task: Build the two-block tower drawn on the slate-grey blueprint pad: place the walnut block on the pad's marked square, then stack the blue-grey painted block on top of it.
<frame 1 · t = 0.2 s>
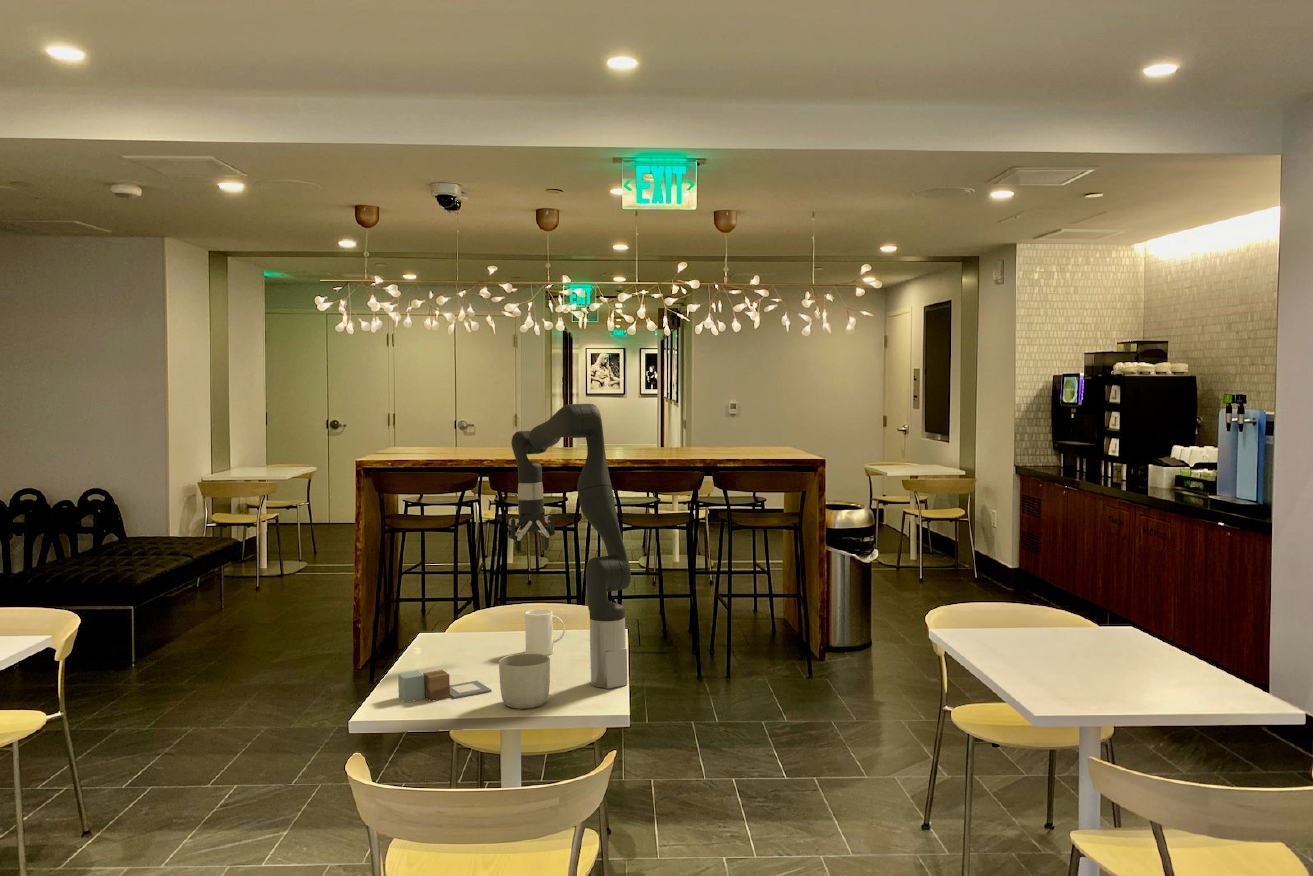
hand: (532, 551, 284), 29 cm above the table, fingers open, 8 cm apart
walnut block: (436, 697, 238), on the table
blue grey block: (411, 698, 238), on the table
mug: (545, 653, 279), on the table
blueprint pad: (465, 690, 243), on the table
planter: (525, 704, 231), on the table
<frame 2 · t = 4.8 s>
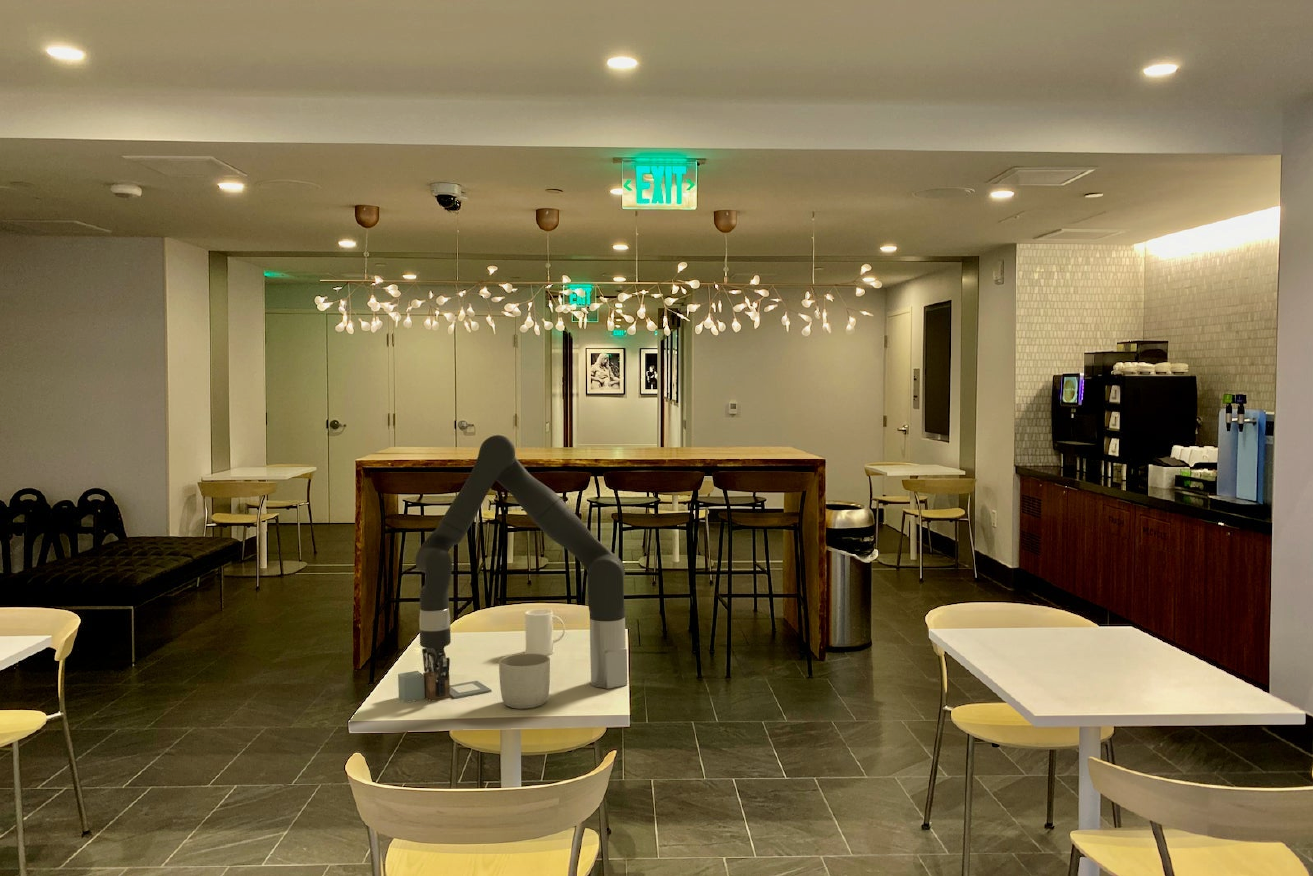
hand: (436, 693, 238), 1 cm above the table, fingers closed on walnut block, 5 cm apart
walnut block: (436, 697, 238), on the table, touching gripper
everything else where it was.
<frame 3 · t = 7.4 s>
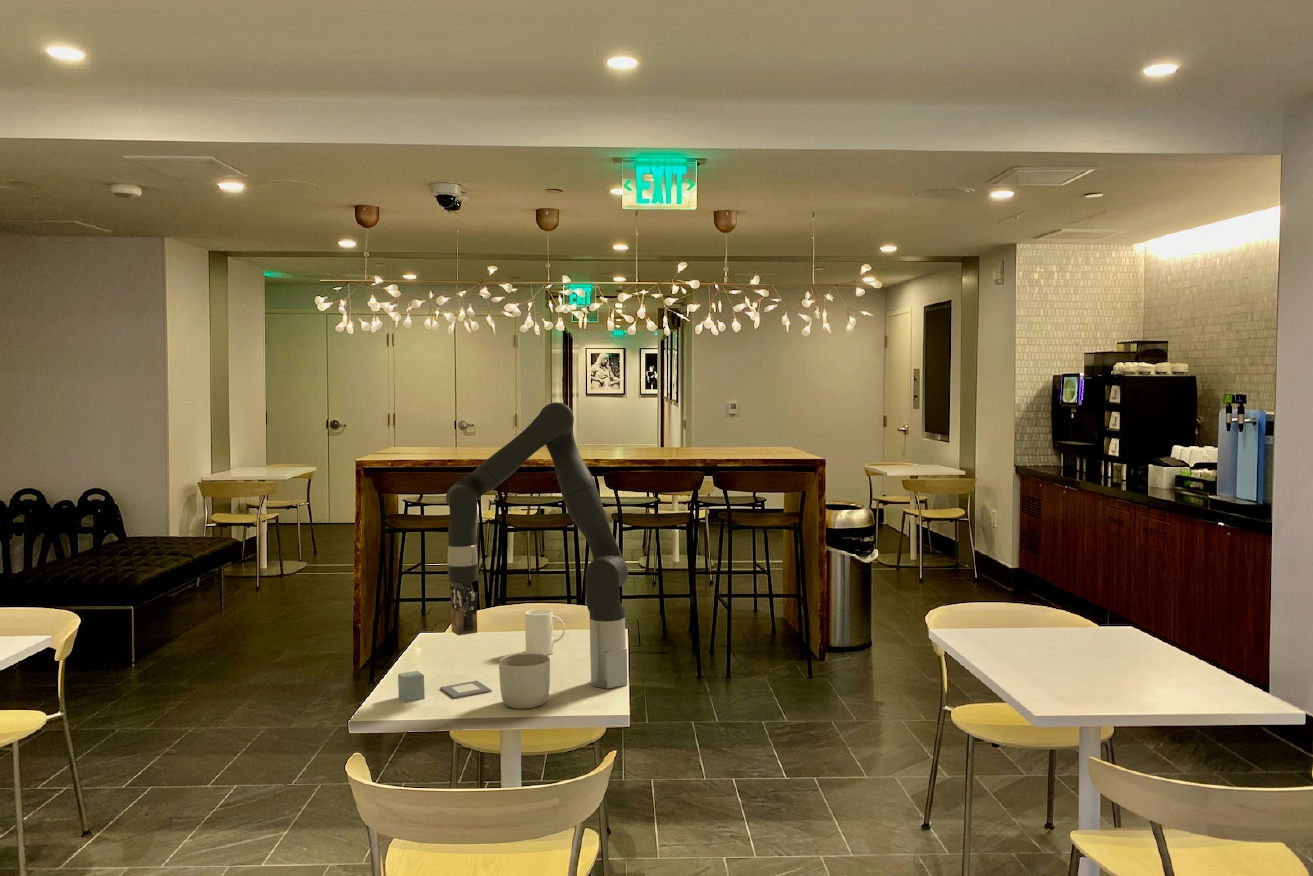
hand: (464, 628, 243), 16 cm above the table, fingers closed on walnut block, 5 cm apart
walnut block: (464, 632, 243), point 15 cm above the table, touching gripper
everything else where it was.
when the fingers open (3 cm above the table, at t = 10.1 s): walnut block stays where it is, resting on blueprint pad.
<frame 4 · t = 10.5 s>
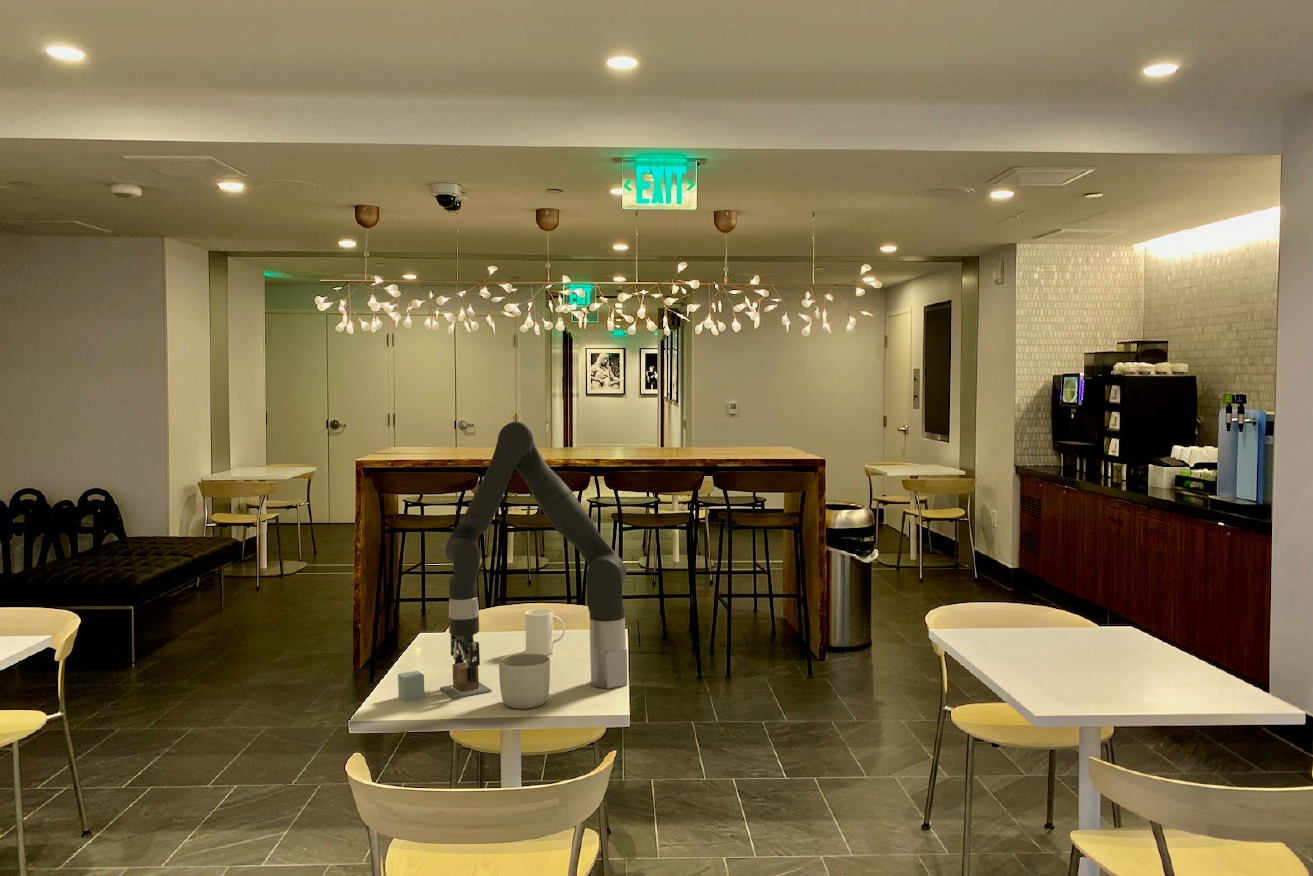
hand: (465, 677, 243), 3 cm above the table, fingers open, 8 cm apart
walnut block: (465, 688, 243), point 1 cm above the table, touching blueprint pad
everything else where it was.
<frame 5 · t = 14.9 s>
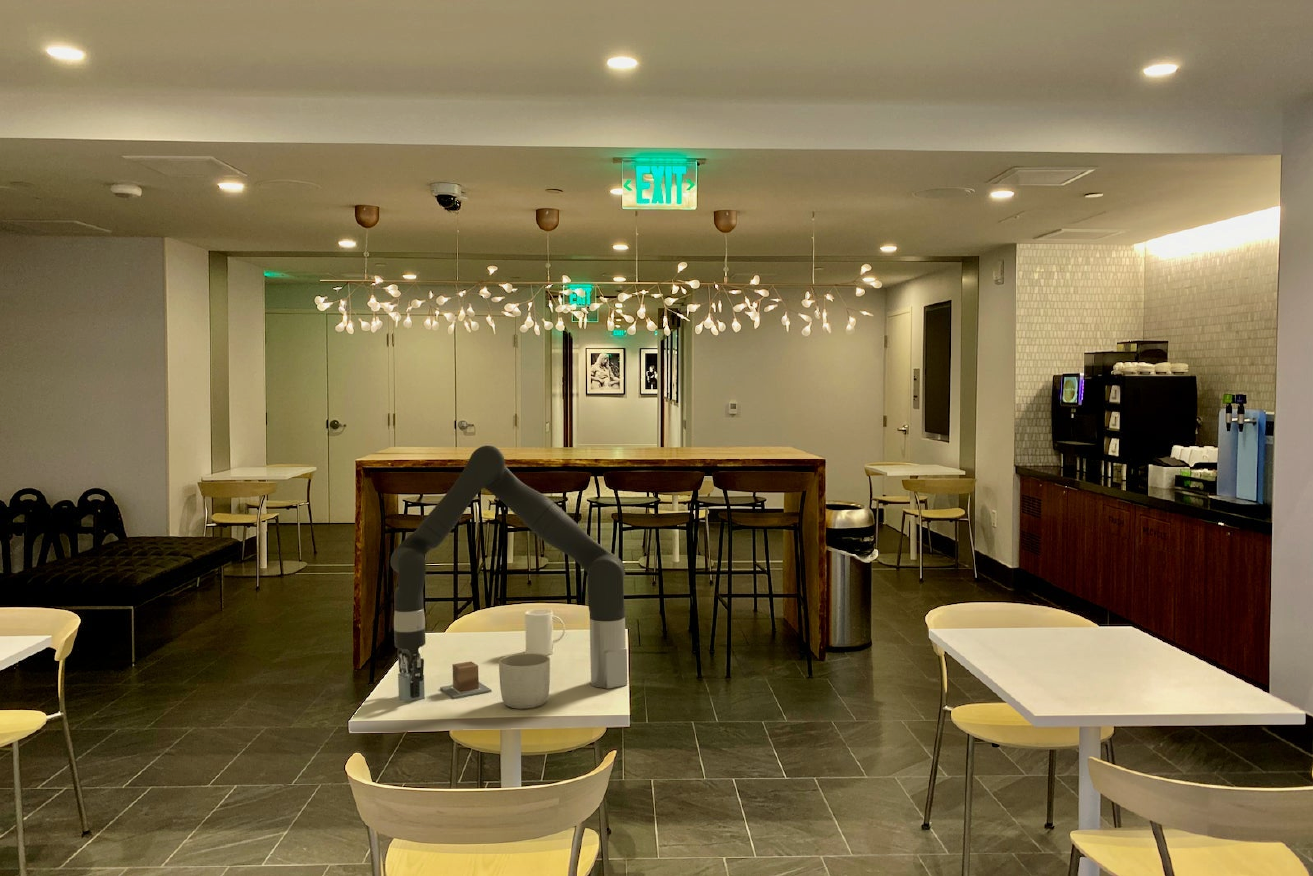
hand: (411, 694, 238), 1 cm above the table, fingers closed on blue grey block, 5 cm apart
blue grey block: (411, 698, 238), on the table, touching gripper
everything else where it was.
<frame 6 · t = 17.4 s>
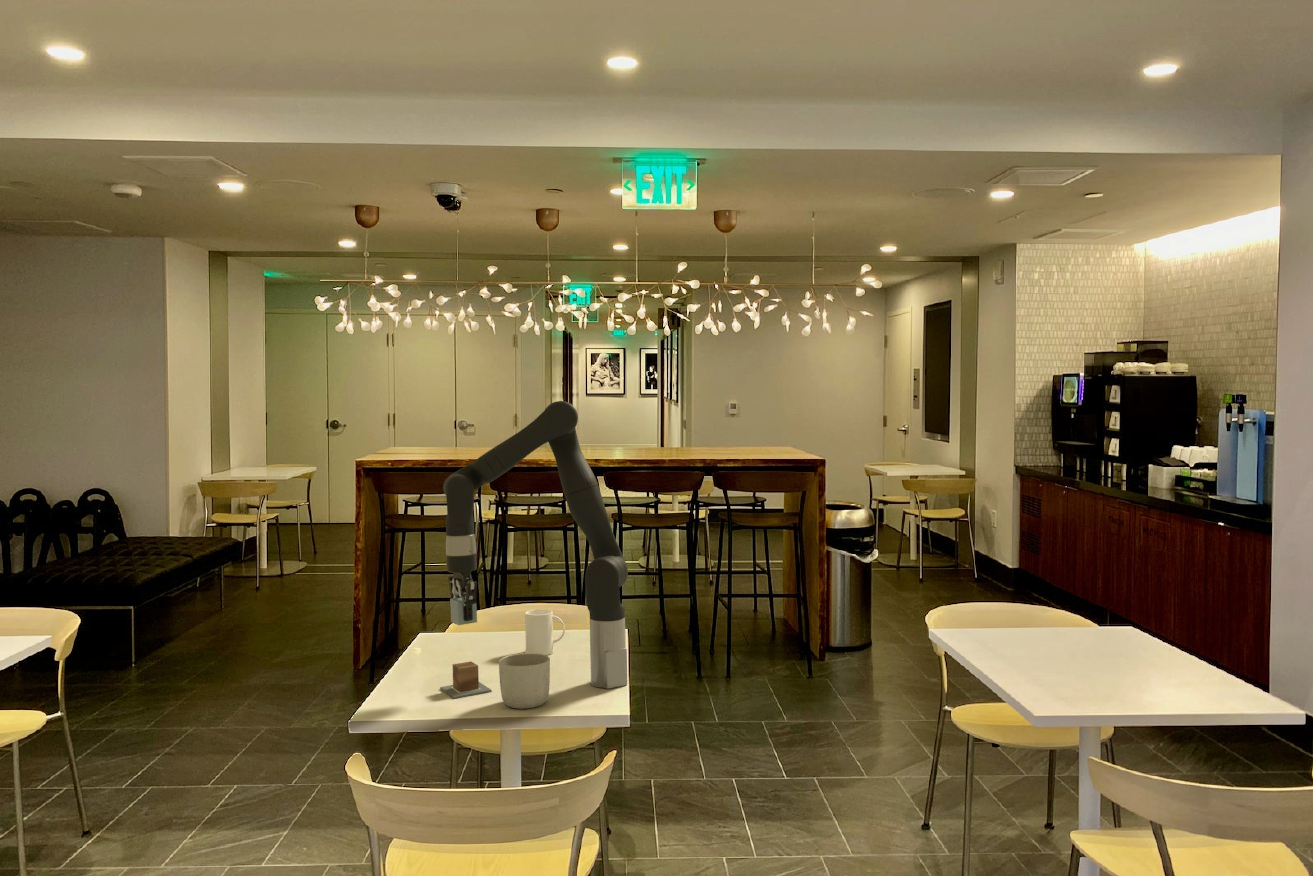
hand: (464, 618, 242), 19 cm above the table, fingers closed on blue grey block, 5 cm apart
blue grey block: (464, 622, 242), point 18 cm above the table, touching gripper
everything else where it was.
when the fingers open (9 cm above the table, at t = 19.9 s): blue grey block drops 1 cm, resting on walnut block.
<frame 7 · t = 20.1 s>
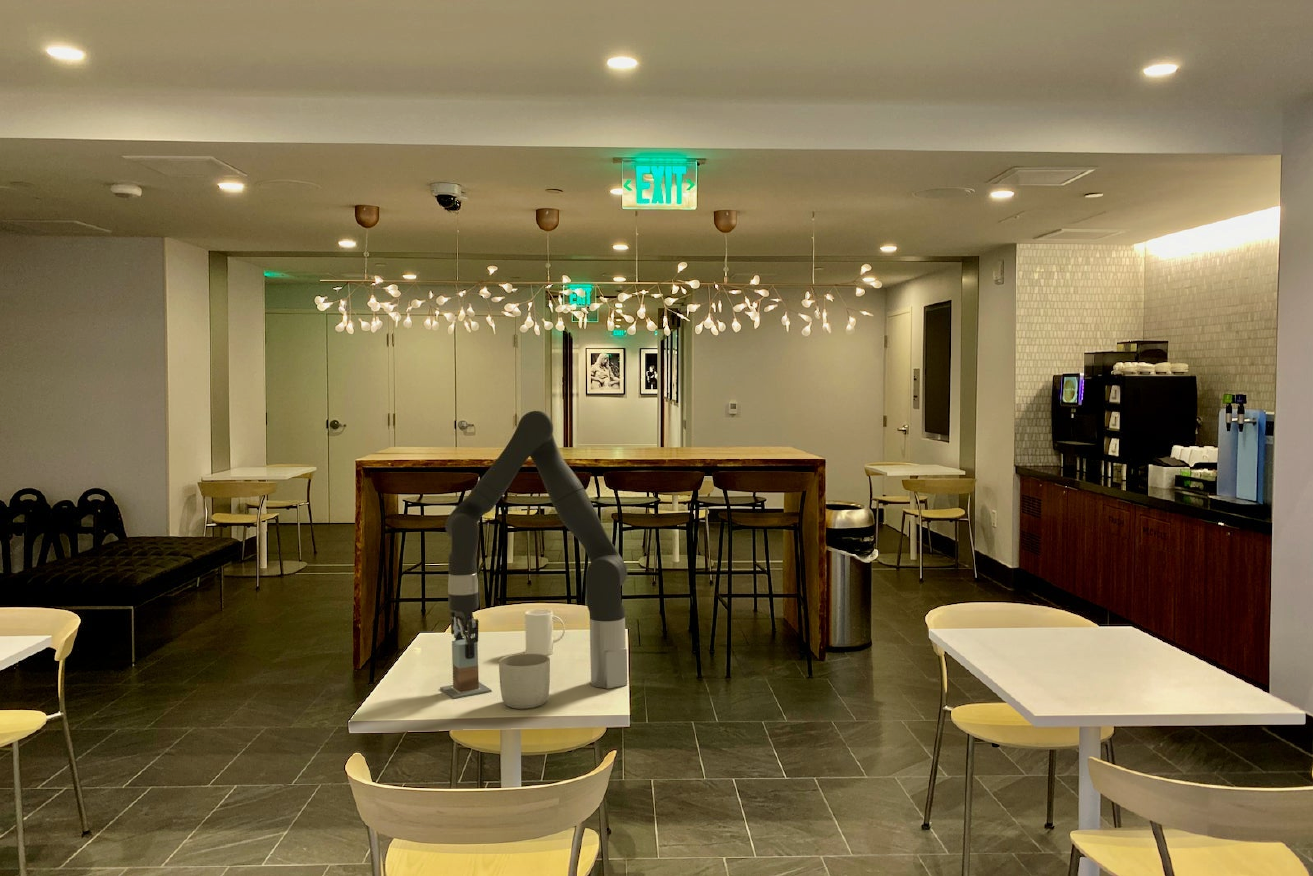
hand: (464, 655, 243), 9 cm above the table, fingers open, 6 cm apart
walnut block: (465, 688, 243), point 1 cm above the table, touching blue grey block, blueprint pad
blue grey block: (465, 665, 243), point 7 cm above the table, touching walnut block
everything else where it was.
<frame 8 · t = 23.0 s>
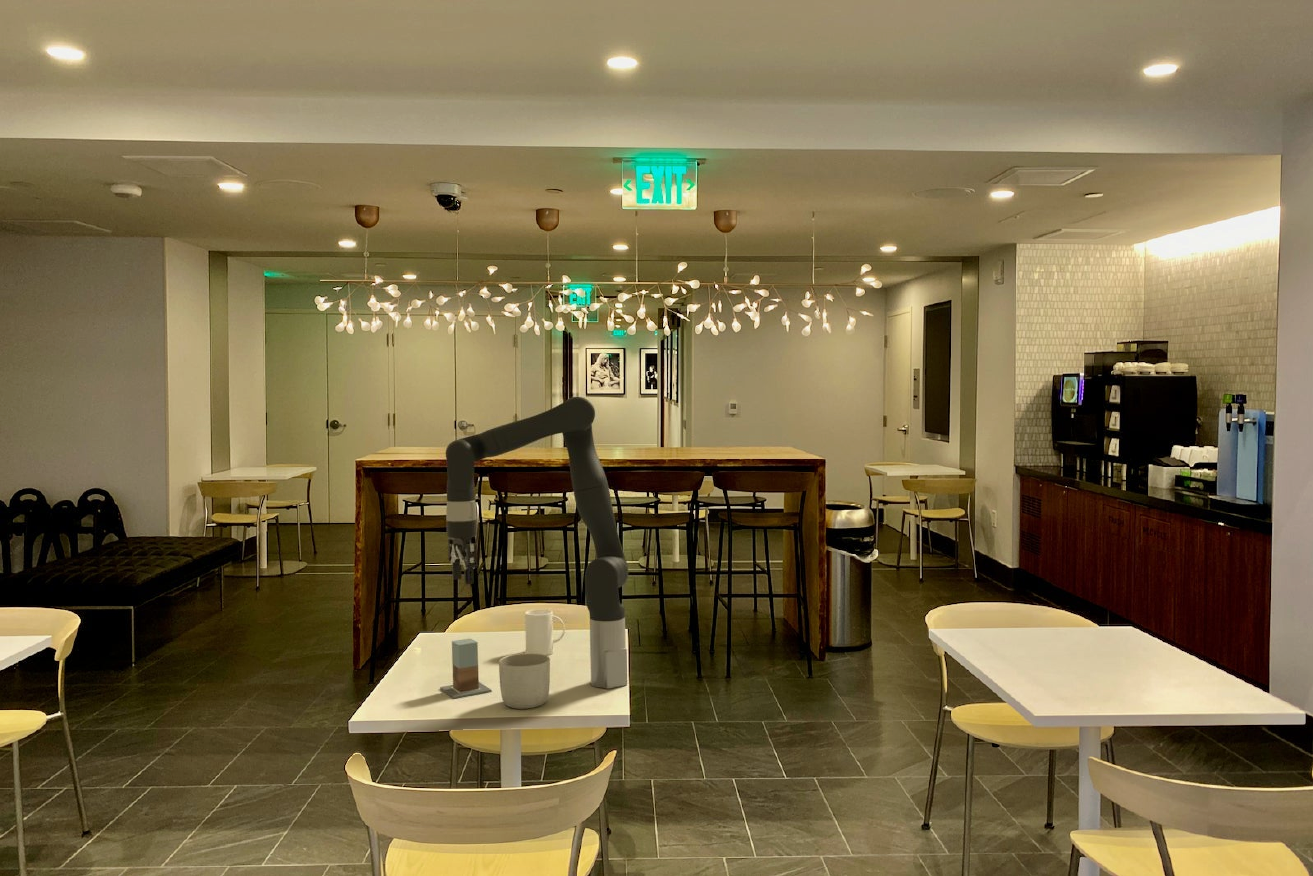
hand: (463, 581, 242), 28 cm above the table, fingers open, 8 cm apart
nothing on the table moved.
at the end: walnut block 0.1 cm off-centre on the blueprint pad, point 0.6 cm above the blueprint pad's base; blue grey block 0.1 cm off-centre on the walnut block, point 6.0 cm above the walnut block's base; blue grey block tilted 0° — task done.
